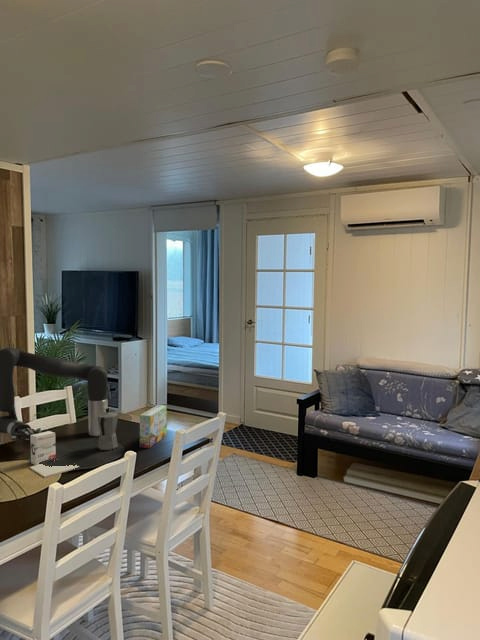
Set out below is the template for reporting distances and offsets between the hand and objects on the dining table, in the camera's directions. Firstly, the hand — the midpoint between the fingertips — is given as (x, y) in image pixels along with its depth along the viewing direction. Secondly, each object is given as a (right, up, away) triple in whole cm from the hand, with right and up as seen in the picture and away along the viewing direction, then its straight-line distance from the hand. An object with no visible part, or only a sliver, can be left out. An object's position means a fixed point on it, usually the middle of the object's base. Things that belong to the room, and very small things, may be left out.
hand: (34, 438), depth 198 cm
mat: (+14, -9, -13) cm, 21 cm away
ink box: (+6, -8, -5) cm, 12 cm away
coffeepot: (+28, -8, +11) cm, 31 cm away
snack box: (+47, -7, +22) cm, 52 cm away
